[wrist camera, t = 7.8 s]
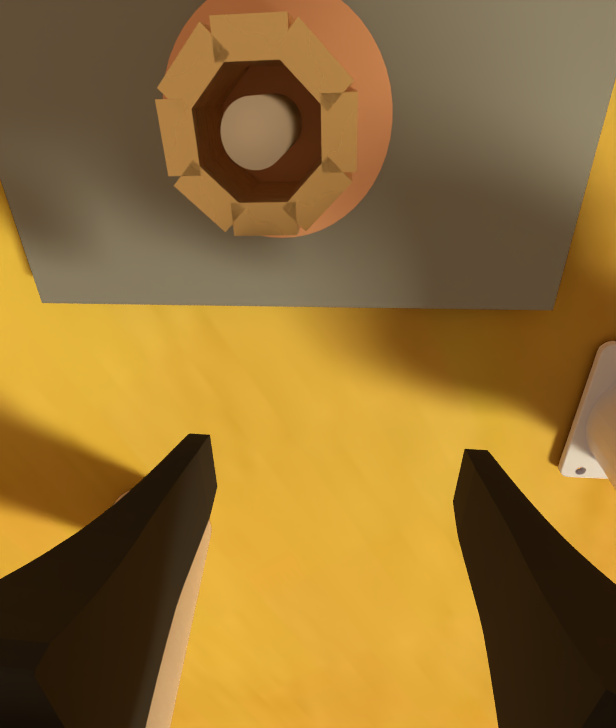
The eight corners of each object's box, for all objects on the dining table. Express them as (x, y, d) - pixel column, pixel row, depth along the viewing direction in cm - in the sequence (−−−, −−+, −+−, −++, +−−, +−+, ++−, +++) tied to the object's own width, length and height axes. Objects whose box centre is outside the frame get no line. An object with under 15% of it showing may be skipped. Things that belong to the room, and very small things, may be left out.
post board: (656, -167, 13) (850, -328, 8) (540, 296, 20) (603, 367, 15) (-68, -119, 15) (-288, -227, 10) (60, 290, 22) (-29, 352, 17)
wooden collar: (358, 23, 15) (359, 7, 11) (354, 208, 17) (355, 234, 14) (184, 32, 15) (140, 19, 12) (208, 210, 18) (178, 236, 15)
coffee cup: (166, 585, 34) (51, 892, 21) (59, 507, 30) (-157, 817, 17) (265, 537, 30) (200, 873, 17) (156, 443, 27) (-26, 775, 14)
